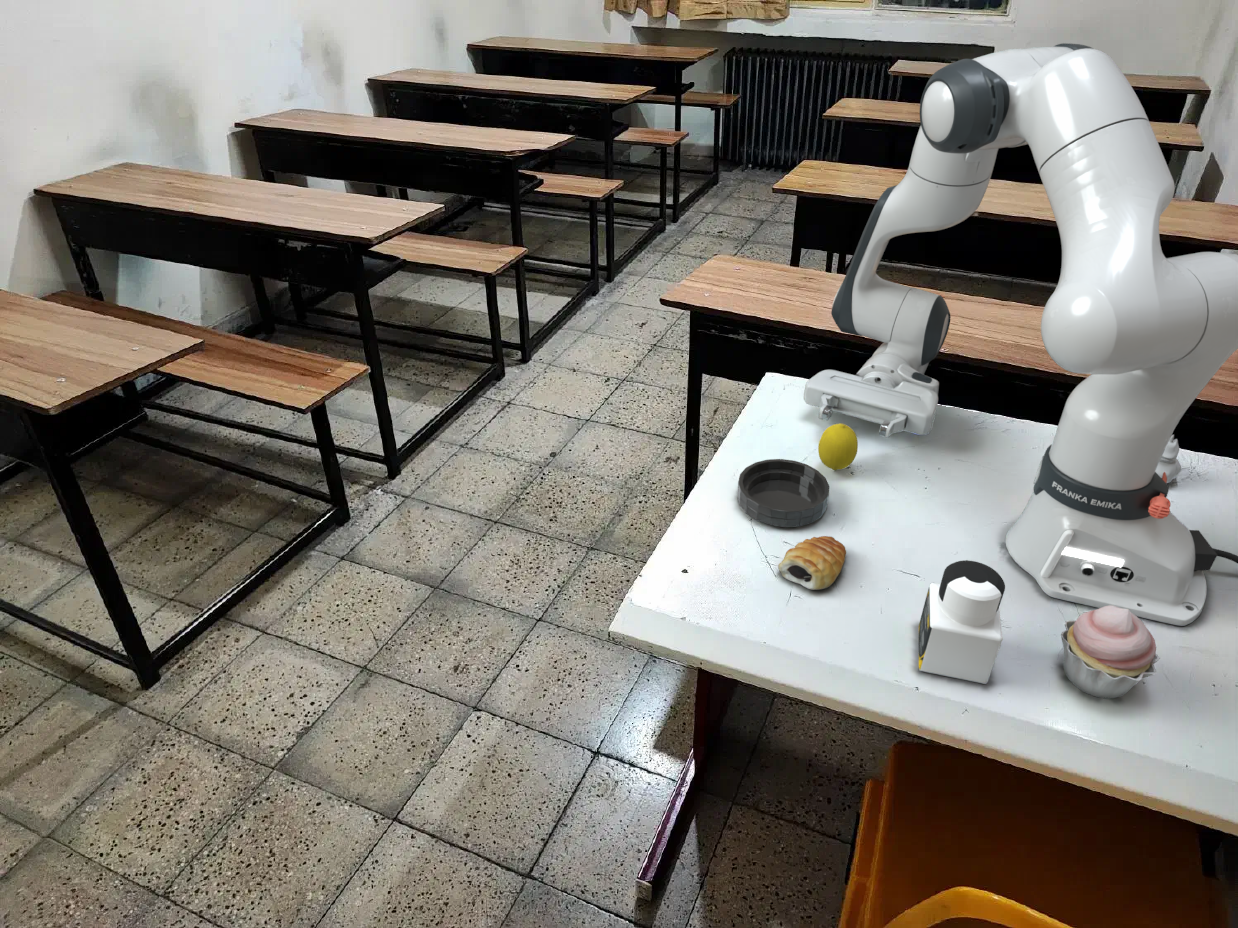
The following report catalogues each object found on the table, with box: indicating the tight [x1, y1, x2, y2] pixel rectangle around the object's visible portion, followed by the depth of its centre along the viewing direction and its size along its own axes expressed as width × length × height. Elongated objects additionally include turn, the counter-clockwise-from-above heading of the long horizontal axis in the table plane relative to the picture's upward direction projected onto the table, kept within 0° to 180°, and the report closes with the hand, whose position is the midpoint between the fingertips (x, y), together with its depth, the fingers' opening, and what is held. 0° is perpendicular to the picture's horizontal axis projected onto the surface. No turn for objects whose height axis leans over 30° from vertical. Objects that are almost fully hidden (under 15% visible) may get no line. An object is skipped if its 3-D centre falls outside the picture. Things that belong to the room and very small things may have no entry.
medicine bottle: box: [918, 560, 1006, 685], centre depth 88 cm, size 7×7×12 cm
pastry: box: [777, 535, 847, 591], centre depth 103 cm, size 9×7×4 cm
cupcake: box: [1060, 605, 1161, 700], centre depth 86 cm, size 9×9×10 cm
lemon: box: [817, 422, 859, 472], centre depth 120 cm, size 6×6×8 cm
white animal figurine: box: [1155, 434, 1182, 484], centre depth 117 cm, size 5×7×8 cm
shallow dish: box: [736, 458, 830, 528], centre depth 115 cm, size 12×12×3 cm
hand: (853, 423), depth 123 cm, fingers open, 8 cm apart
